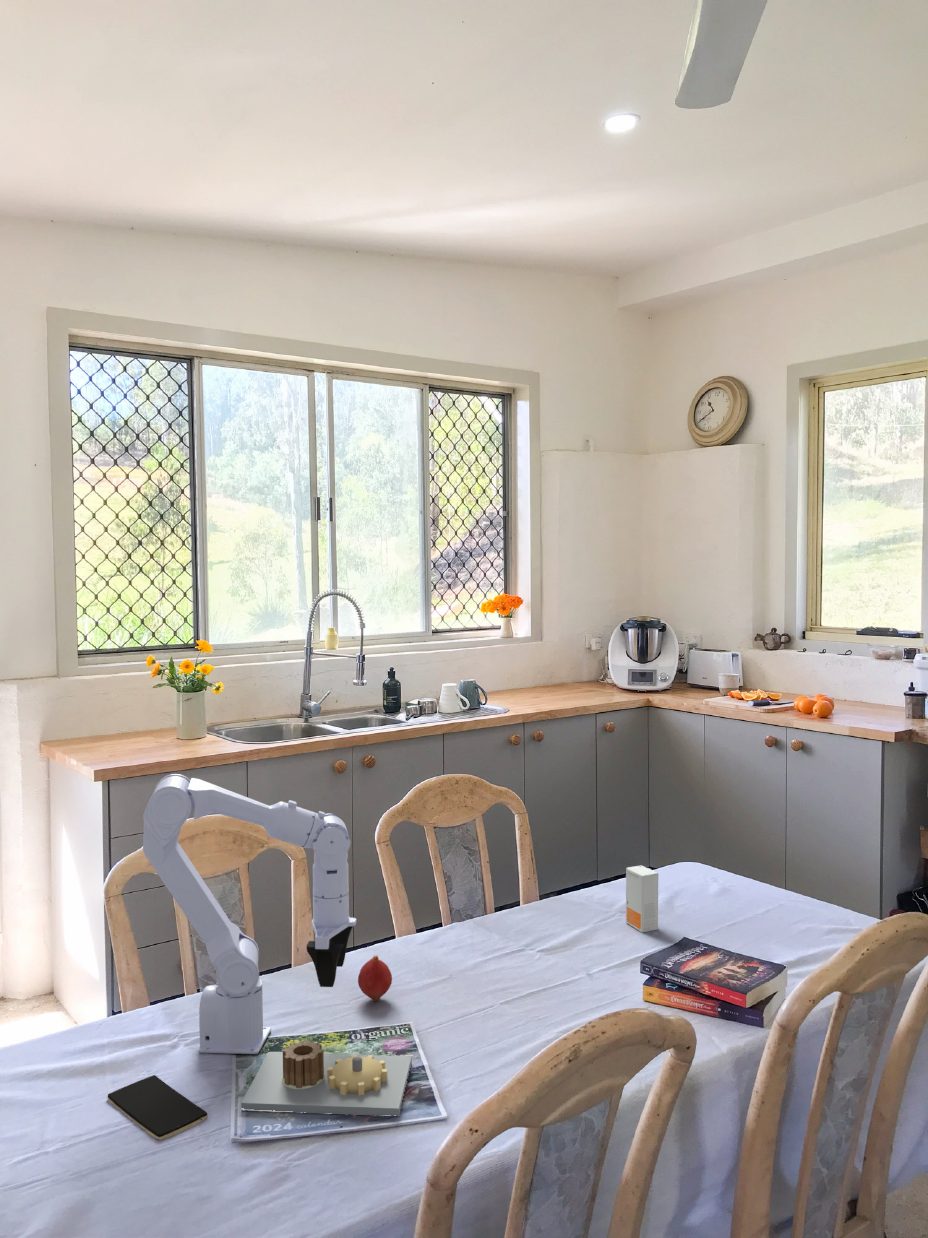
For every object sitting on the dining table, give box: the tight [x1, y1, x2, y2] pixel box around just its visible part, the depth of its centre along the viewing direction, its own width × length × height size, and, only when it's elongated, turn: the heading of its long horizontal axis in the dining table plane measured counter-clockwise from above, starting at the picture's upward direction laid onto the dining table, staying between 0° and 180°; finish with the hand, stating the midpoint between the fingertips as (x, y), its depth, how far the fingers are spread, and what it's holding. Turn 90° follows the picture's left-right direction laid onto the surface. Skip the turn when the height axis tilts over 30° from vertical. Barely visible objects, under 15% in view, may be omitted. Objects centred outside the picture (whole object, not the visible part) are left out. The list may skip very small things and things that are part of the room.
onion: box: [357, 954, 393, 1002], centre depth 167 cm, size 6×6×8 cm
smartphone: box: [107, 1074, 209, 1141], centre depth 134 cm, size 7×1×15 cm
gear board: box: [240, 1051, 413, 1117], centre depth 139 cm, size 22×14×4 cm, turn 86°
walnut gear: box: [282, 1039, 325, 1088], centre depth 140 cm, size 6×6×4 cm
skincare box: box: [625, 864, 659, 933], centre depth 200 cm, size 6×4×12 cm
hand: (331, 975), depth 155 cm, fingers open, 7 cm apart
